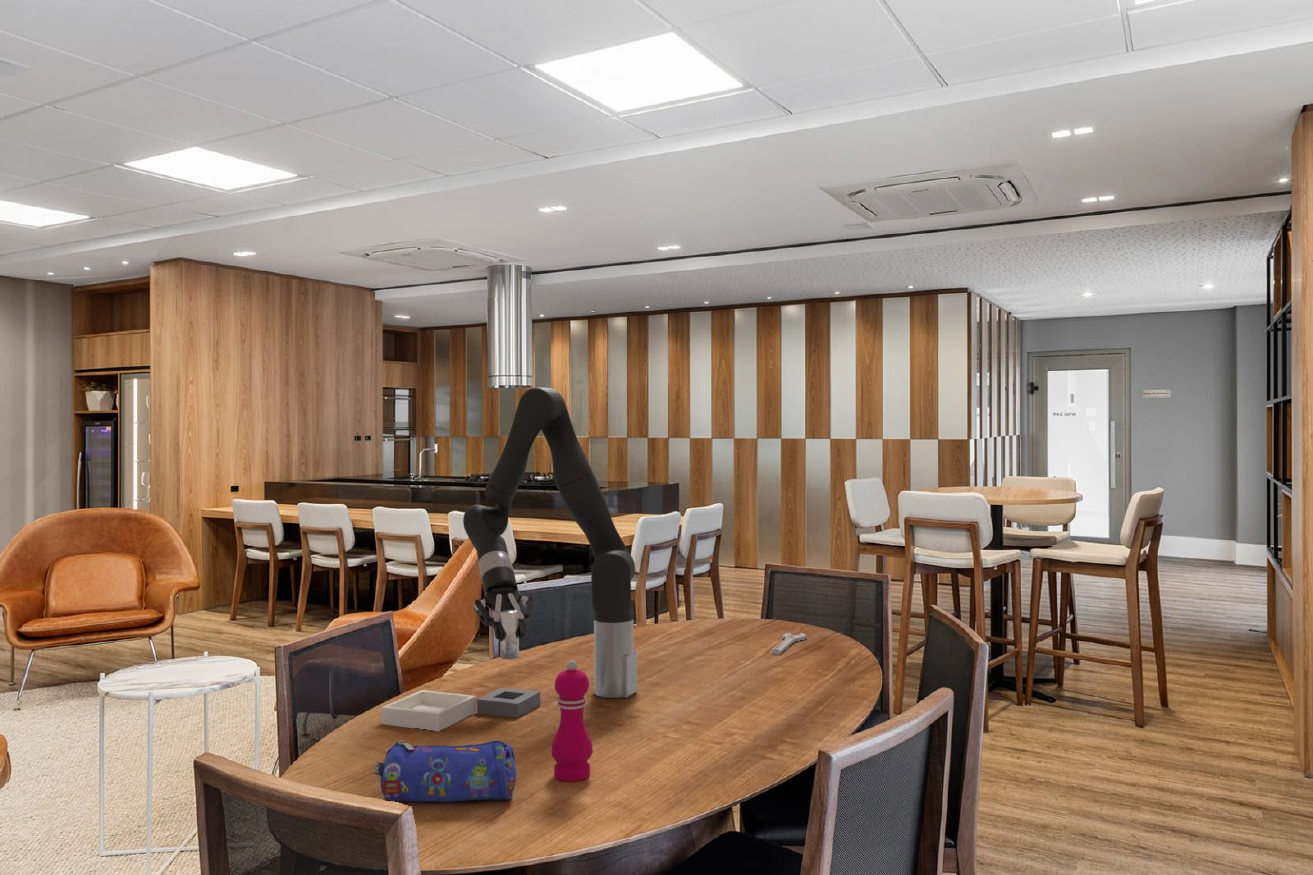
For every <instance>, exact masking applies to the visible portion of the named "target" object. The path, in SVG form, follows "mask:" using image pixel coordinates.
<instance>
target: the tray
mask: <svg viewBox="0 0 1313 875" xmlns="http://www.w3.org/2000/svg"><path fill="white" fill-rule="evenodd" d="M476 713H477V695H472V694H462V693H454V692H453V693H452V692H451V693H450V692H443V691H436V690H435V691H434V690H425V689H421V690H419V691H416V692H414V693H411V694H409V695H407V696H405V697H402V698H400V699H397V700H396V701H395V700H394V701H393V702H390V703H388V704H386V705H384V706H381V725H386V726H393V727H400V728H401V727H402V728H409V729H415V728H420V729H419V730H422V729H427V730H426V731H430V730H433V731H432V732H438V733H439V732H440V730H441V731H442V729H443V730H444V728H445V729H447V728H449V727H450V726H452V725H454V724H457V723H458V722H460V721H462V720H464V719H466V718H469V717H470V716H472V715H474V714H476Z"/></svg>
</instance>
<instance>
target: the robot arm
mask: <svg viewBox="0 0 1313 875" xmlns="http://www.w3.org/2000/svg"><path fill="white" fill-rule="evenodd" d="M540 432H542V434H543V436H544V438H545V440H546V442H547V445H548V447H549V451H550V456H551V463H552V471H553V477H554V478H553V479H554V481H555V484H556V487H557V490H558V492H559V494H560V496H561V499H562V501H563V504H564V506H565V508H566V509H567V511H568V513H569V514H570V516H571V517H572V519H573V520H574V521H575V523H576V524H577V525H578V527H579V528H580V529H581V531H582V532H583V534H584V535H585V537H586V538H587V541H588V543H589V545H590V549H591V552H592V554H593V557H594V561H593V563H592V568H591V572H590V573H591V574H590V575H591V576H590V577H591V579H590V580H591V586H590V587H591V607H592V610H593V693H594V696H597V697H600V698H605V699H606V698H608V699H617V698H619V699H620V698H624V699H626V698H629V697H630V696H632V695H634V694H635V693H636V692H637V691H638V688H637V686H638V675H637V674H638V671H637V670H638V668H637V667H638V666H637V665H638V663H637V662H638V659H637V657H638V656H637V655H638V653H637V650H634V607H633V604H632V580H633V578H634V576H635V572H636V566H635V561H634V558H633V556H632V555H631V552H630V551H629V550H628V548H627V546H626V544H625V543H624V541H623V539H622V538H621V536H620V534H619V532H618V530H617V528H616V526H615V524H614V522H613V518H612V516H611V513H610V510H609V508H608V505H607V502H606V499H605V497H604V495H603V492H602V489H601V487H600V484H599V482H598V480H597V477H596V475H595V473H594V471H593V469H592V467H591V465H590V463H589V460H588V458H587V456H586V454H585V451H584V449H583V448H582V446H581V444H580V441H579V440H578V437H577V435H576V431H575V429H574V426H573V424H572V419H571V417H570V413H569V411H568V407H567V405H566V402H565V400H564V397H563V395H562V394H561V393H560V392H559V391H557V390H556V389H554V388H552V387H545V386H544V387H543V386H541V387H540V386H539V387H538V386H537V387H536V386H535V387H531V388H529V389H527V390H525V391H524V393H522V395H521V396H520V399H519V401H518V405H517V408H516V410H515V414H514V418H513V422H512V424H511V428H510V430H509V434H508V437H507V439H506V442H505V444H504V446H503V447H504V448H503V450H502V452H501V455H500V457H499V459H498V461H497V463H496V466H495V468H494V470H493V471H492V473H491V476H490V477H489V480H488V482H487V484H486V486H485V489H484V495H485V496H486V497H487V498H488V499H489V500H491V501H492V502H494V503H495V506H494V507H491V506H490V507H489V506H485V505H482V504H481V505H480V504H473V505H469V507H467V508H466V510H465V512H464V514H463V519H462V522H463V523H462V524H463V528H464V532H465V533H466V535H467V537H468V539H469V540H470V543H471V544H472V546H473V548H474V549H475V550H476V554H477V560H478V566H479V577H480V580H481V583H482V588H483V593H484V598H483V599H481V600H480V599H475V600H474V604H473V610H474V612H475V613H476V615H477V617H478V618H479V620H480V621H481V623H482V624H483V626H484V627H489V626H490V627H492V628H493V633H494V637H495V639H496V640H498V642H500V641H503V637H504V635H503V630H502V626H501V622H500V611H503V610H517V611H518V626H519V640H523V639H524V637H525V636H526V634H527V628H526V624H525V623H527V624H528V623H529V622H530V620H531V619H530V618H531V616H532V610H533V605H534V604H533V603H534V595H533V594H528V596H526V595H522V593H521V592H520V591H519V588H518V584H517V580H516V575H515V571H514V570H515V569H514V567H513V563H512V561H511V558H510V555H509V551H508V547H507V543H506V540H505V538H504V537H503V536H502V535H504V533H505V532H506V531H507V528H508V525H509V518H510V512H511V507H512V503H513V499H514V496H516V493H517V491H518V489H519V486H520V485H521V483H522V480H523V478H524V475H525V472H526V469H527V464H528V461H529V455H530V451H531V450H532V449H531V448H532V446H533V444H534V441H535V440H536V438H537V437H538V435H539V433H540ZM520 603H522V605H523V607H524V608H525V611H524V614H523V613H522V611H521V607H520ZM486 607H488V609H490V610H491V611H492V612H493V613H492V617H491V615H490V614H489V612H488V610H487V608H486Z"/></svg>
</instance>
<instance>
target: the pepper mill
mask: <svg viewBox="0 0 1313 875" xmlns="http://www.w3.org/2000/svg"><path fill="white" fill-rule="evenodd" d="M577 667H578V664H577V662H576V661H575V660H569V661H568V662H567V663H566V668H567V669H564V670H562V671H560V673H558V674H557V676H556V678H555V679H554V690H555V693H557V695H558V696H559V697H558V698H557V707H559V710H560V720H559V725H558V729H557V731H556V733H555V735H554V737H553V740H552V743H551V751H550V752H551V757H552V758H553V760H554V761H555V764H554V765H553V776H554V778H555V779H557V780H559V781H562V782H579V781H583V780H586V779H587V778H589V777H590V774H591V765H590V762H589V759H590V758H591V757H592V755H593V752H594V750H593V743H592V738H591V737H590V734H589V732H588V730H587V728H586V725H585V719H584V709H585V707H586V705H587V702H586V701H587V697H586V696H585V695H586V694H587V692H588V691H589V688H590V681H589V678H588V676H587V674H586V672H584V671H582V670H581V669H578V668H577Z"/></svg>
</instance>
